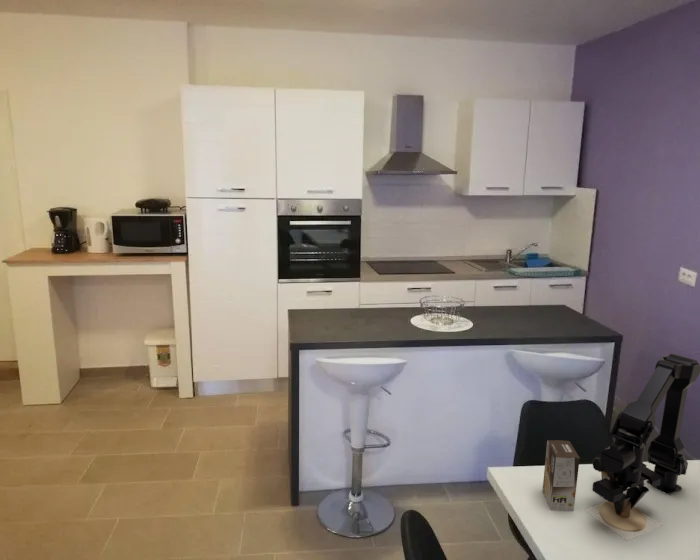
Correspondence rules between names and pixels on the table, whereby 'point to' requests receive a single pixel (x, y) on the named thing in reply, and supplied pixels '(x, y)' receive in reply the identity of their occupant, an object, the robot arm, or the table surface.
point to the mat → (625, 534)
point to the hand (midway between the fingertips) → (622, 512)
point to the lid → (623, 517)
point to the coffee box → (560, 475)
